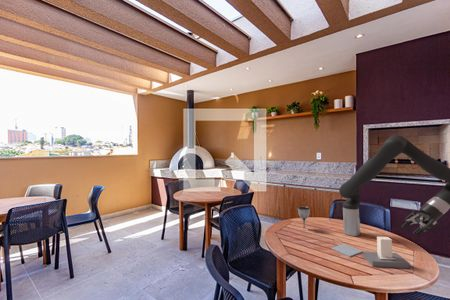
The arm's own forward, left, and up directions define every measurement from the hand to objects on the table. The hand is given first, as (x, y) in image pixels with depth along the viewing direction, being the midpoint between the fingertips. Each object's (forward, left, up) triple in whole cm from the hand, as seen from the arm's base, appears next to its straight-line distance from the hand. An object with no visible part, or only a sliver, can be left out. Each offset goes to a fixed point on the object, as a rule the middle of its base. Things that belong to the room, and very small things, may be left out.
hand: (408, 231), depth 107 cm
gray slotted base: (+9, -6, -16) cm, 19 cm away
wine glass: (+9, -59, -16) cm, 62 cm away
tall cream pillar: (+9, -6, -16) cm, 19 cm away
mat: (+14, -23, -16) cm, 31 cm away
